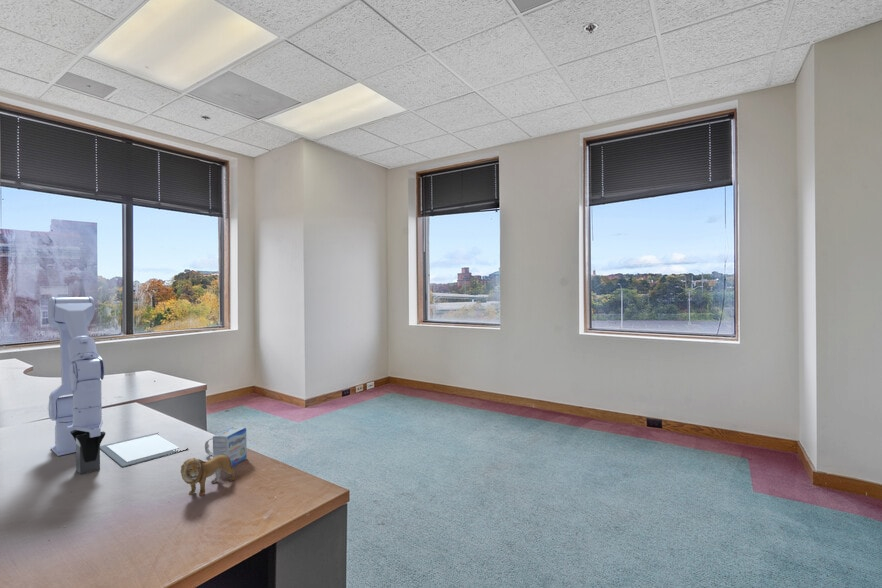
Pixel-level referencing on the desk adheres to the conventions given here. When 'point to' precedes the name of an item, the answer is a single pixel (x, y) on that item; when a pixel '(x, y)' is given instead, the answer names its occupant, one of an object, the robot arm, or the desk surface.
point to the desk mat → (139, 449)
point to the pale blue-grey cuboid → (84, 466)
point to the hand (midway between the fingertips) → (88, 458)
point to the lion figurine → (205, 471)
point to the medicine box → (231, 444)
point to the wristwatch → (207, 448)
